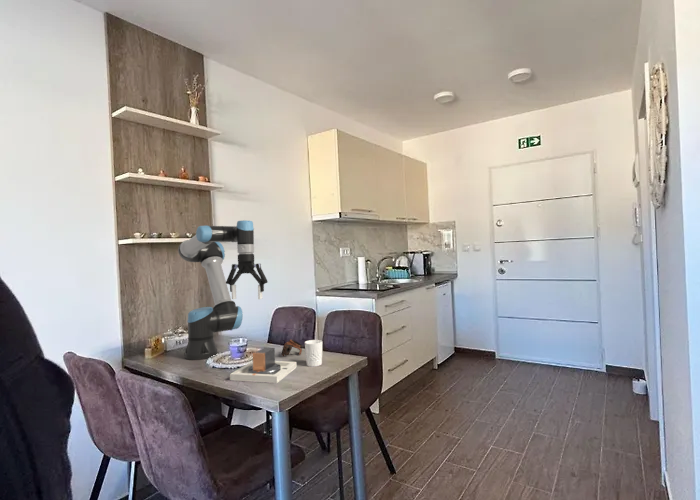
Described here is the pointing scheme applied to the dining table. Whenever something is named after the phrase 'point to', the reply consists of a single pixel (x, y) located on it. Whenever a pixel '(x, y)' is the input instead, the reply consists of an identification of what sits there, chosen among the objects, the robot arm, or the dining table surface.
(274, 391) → the dining table surface
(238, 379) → the dial panel
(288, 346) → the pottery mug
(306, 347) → the white cup
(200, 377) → the dining table surface
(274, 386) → the dining table surface
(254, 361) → the dial
